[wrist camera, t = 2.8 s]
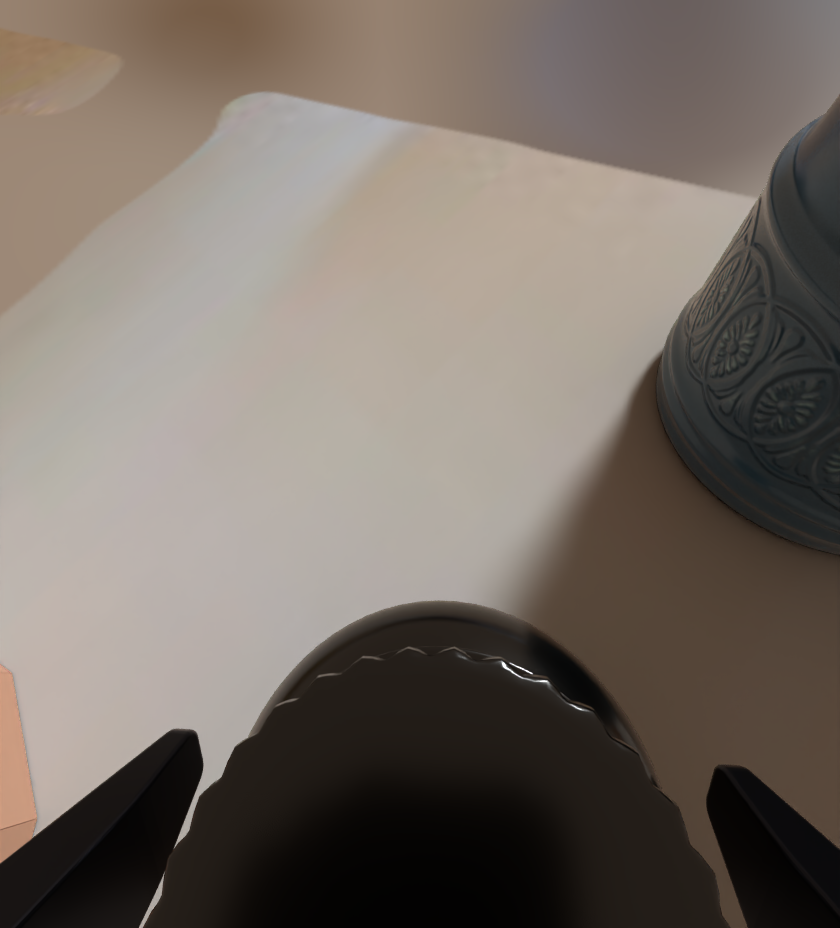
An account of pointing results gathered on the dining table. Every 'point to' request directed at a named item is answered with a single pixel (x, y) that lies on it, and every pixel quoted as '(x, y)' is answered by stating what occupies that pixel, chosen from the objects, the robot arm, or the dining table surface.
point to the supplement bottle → (438, 794)
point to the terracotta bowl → (13, 774)
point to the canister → (769, 353)
